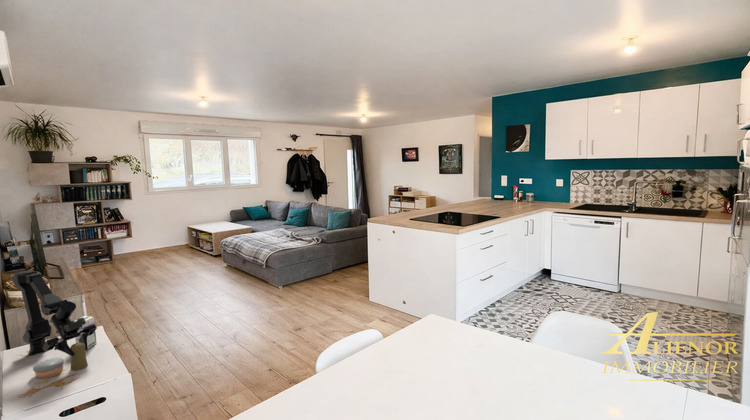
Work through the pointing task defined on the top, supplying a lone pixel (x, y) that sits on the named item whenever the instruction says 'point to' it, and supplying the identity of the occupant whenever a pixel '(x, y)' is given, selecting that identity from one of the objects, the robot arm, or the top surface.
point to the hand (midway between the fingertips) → (79, 352)
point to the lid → (48, 364)
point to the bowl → (49, 372)
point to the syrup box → (92, 338)
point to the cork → (78, 357)
